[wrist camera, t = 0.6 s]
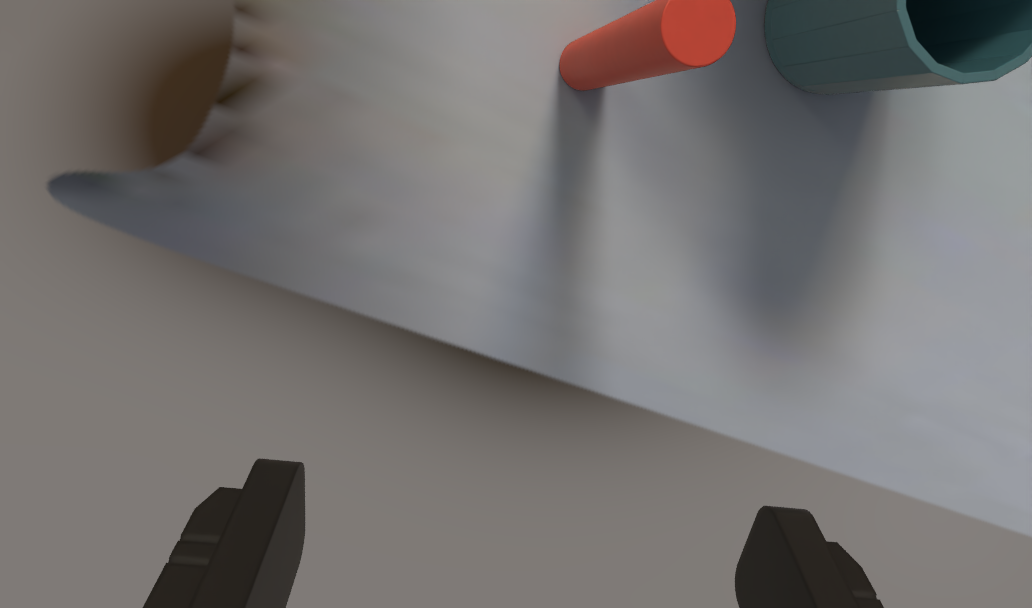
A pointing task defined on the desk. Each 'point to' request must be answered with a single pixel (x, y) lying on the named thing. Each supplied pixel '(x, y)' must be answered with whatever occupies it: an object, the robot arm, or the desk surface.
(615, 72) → the red cylindrical rod
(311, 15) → the desk surface
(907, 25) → the cup
